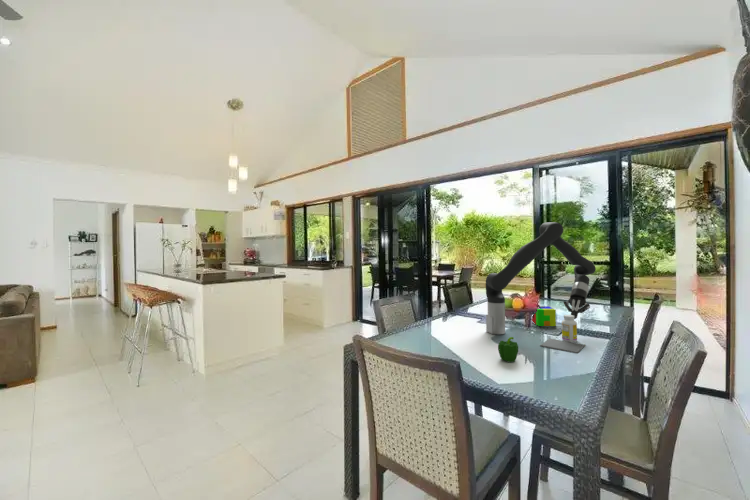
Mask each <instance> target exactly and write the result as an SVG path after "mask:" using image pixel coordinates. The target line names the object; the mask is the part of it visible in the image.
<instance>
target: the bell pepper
mask: <svg viewBox="0 0 750 500" xmlns="http://www.w3.org/2000/svg"><path fill="white" fill-rule="evenodd" d="M512 340H514V337H513V336H510V337H508V338H507V340H506V341H505V340H499V342H498V344H497V350H498V354H499V357H500V359H501V360H502V361H505V362H508V363H514V362H515V361H516V360H517V357H518V354H519V344H518V342H517V341H512Z"/></svg>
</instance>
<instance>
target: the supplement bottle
mask: <svg viewBox="0 0 750 500" xmlns="http://www.w3.org/2000/svg"><path fill="white" fill-rule="evenodd" d="M561 341H567V342H573V343H577V341H578V324H577V321H576V320H575V319H574V316H573V315H571V314H564V315H563V320H562V321H561Z"/></svg>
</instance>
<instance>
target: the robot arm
mask: <svg viewBox="0 0 750 500" xmlns="http://www.w3.org/2000/svg"><path fill="white" fill-rule="evenodd" d="M538 230H539V231H538V232H539V234H540V235H539V236H538V237H537V238H535V239H534V240H531V241H529V242H527V243H526V244H524V245H522V246H521V247H520V248H519V249H518V250H516V252H515V253H514V254H513V255H512V256H511V258H510V260H509V262H508V264H507V265H506V266H505V267H504V268H503V269H501V270H500V271H499V272H498V273H497V272H491V273H489V274H488V275H487V276H486V278H485V296H486V299H487V300H486V301H487V314H486V315H485V324H486V325H485V326H486V327H485V328H486V329H485V330H486V331H485V332H487V333H489V334H491V335H504V334H506V298H505V296H504V293H503V290H504V289H505V288H507V287H508V285H509V284H510V283H511V281H513V279H514V278H515V277H516V276H517V275H518V274H519V273H521V272H522V270H524V269H525V268H526V267H527V266H528V265H529V264H530V263H531V262H533V260H534V259H536V258H537V257H538V256H539V255H540V254H541V253H542V252H543V251H544V250H545V249H547V247H548V246H550V245H552V246H553V247H554V248H556V250H558V251H559V252H560V253H561V255H563V257H564V258H565V259H566V260H567V261H568V262H569V263H570V264H571V265H572V266H574V267H573V273H574V282H573V285H572V287H571V292H570V297H569V298H568V300H564V301H563V305H564V306H565V307H566V309H567V310H568V312H570V315H573V316H574V320H576V319H578V315H579V314H583V313H585V311H588V310H589V309H590V308H591V305H590V303H587V296H588V292H589V286H590V285H589V284H590V277H589V276H590V275H592V274H594V273H596V271H597V270H596V269H597V268H596V265H595V263H593V262H592V261H591V260H589V259H587V258H586V257H585V256H583V255H581V253H580V252H579V251H578V250H577V249H576V248H575V247H574V246H573V245H572V244H570V243H569V242H568V241H566V240H564V239H563V237H562V234H563V233H564V226H563V225H562V224H561V223H560V222H555V221H553V222H552V221H551V222H550V221H549V222H543V223H542V224H541V225H540V226H539V229H538ZM570 306H571V307H570Z"/></svg>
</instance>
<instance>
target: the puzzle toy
mask: <svg viewBox="0 0 750 500" xmlns="http://www.w3.org/2000/svg"><path fill="white" fill-rule="evenodd" d="M539 308H540V309H537V312H536V313H535V314H534V315H533V316H532V315H531V322H532V321H533V322H534V323H535V324H536V325H535V324H534V323H533V324H534V325H535V326H537V325H538V326H556V327H557V313H556V312H557V310H556V309H555V308H553V307H551V306H543V305H539ZM538 326H537V327H538Z"/></svg>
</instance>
